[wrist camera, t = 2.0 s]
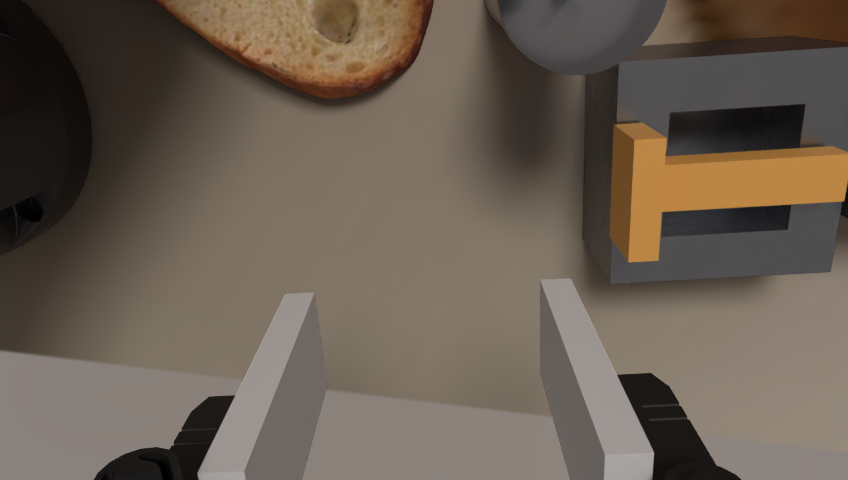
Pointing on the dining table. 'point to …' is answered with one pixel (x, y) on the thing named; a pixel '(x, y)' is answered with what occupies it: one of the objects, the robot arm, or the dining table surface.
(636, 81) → the dock
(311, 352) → the robot arm
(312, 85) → the bread slice
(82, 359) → the dining table surface
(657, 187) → the lock pin
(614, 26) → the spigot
